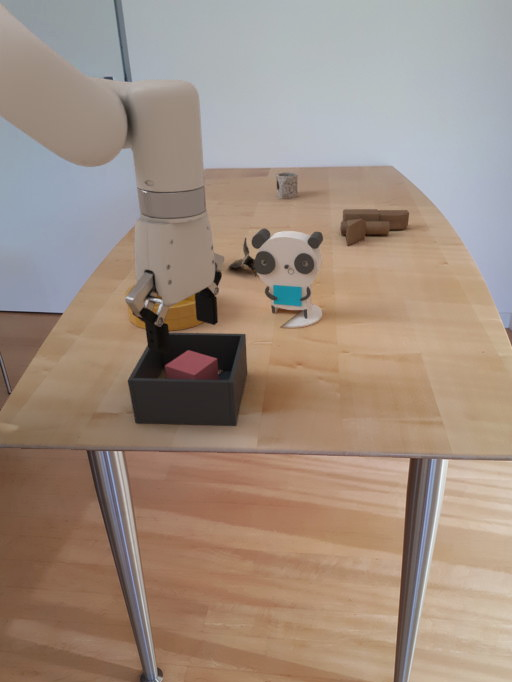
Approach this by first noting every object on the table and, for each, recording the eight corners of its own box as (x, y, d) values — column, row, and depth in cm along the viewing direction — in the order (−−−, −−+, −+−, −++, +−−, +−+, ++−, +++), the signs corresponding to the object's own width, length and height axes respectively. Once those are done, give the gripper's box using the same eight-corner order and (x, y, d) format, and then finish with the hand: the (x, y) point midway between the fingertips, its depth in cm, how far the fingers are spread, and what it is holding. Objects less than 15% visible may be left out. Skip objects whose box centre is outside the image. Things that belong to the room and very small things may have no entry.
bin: (135, 423, 71) (127, 380, 68) (160, 371, 82) (154, 332, 79) (236, 426, 70) (233, 382, 67) (247, 373, 81) (245, 333, 78)
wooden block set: (339, 205, 144) (408, 205, 143) (338, 226, 147) (406, 226, 146) (343, 222, 129) (420, 222, 129) (342, 246, 132) (417, 246, 132)
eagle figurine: (277, 265, 118) (251, 248, 123) (265, 243, 112) (239, 226, 117) (252, 289, 117) (227, 271, 122) (239, 269, 111) (214, 250, 116)
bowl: (179, 343, 90) (175, 315, 87) (111, 323, 97) (106, 297, 94) (231, 309, 101) (230, 284, 99) (167, 293, 108) (164, 269, 105)
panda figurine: (247, 323, 96) (243, 240, 88) (266, 298, 105) (264, 221, 97) (314, 331, 93) (316, 245, 85) (327, 304, 102) (330, 225, 95)
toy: (197, 407, 73) (194, 375, 70) (169, 396, 75) (164, 365, 73) (219, 389, 77) (217, 358, 74) (191, 380, 79) (188, 349, 76)
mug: (279, 193, 180) (279, 172, 177) (299, 194, 179) (299, 172, 175) (271, 200, 172) (271, 178, 169) (292, 201, 171) (292, 179, 167)
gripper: (193, 184, 70) (202, 306, 79) (91, 214, 58) (115, 356, 66) (242, 191, 67) (245, 318, 76) (145, 224, 54) (162, 372, 63)
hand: (184, 335), depth 71 cm, fingers open, 9 cm apart
